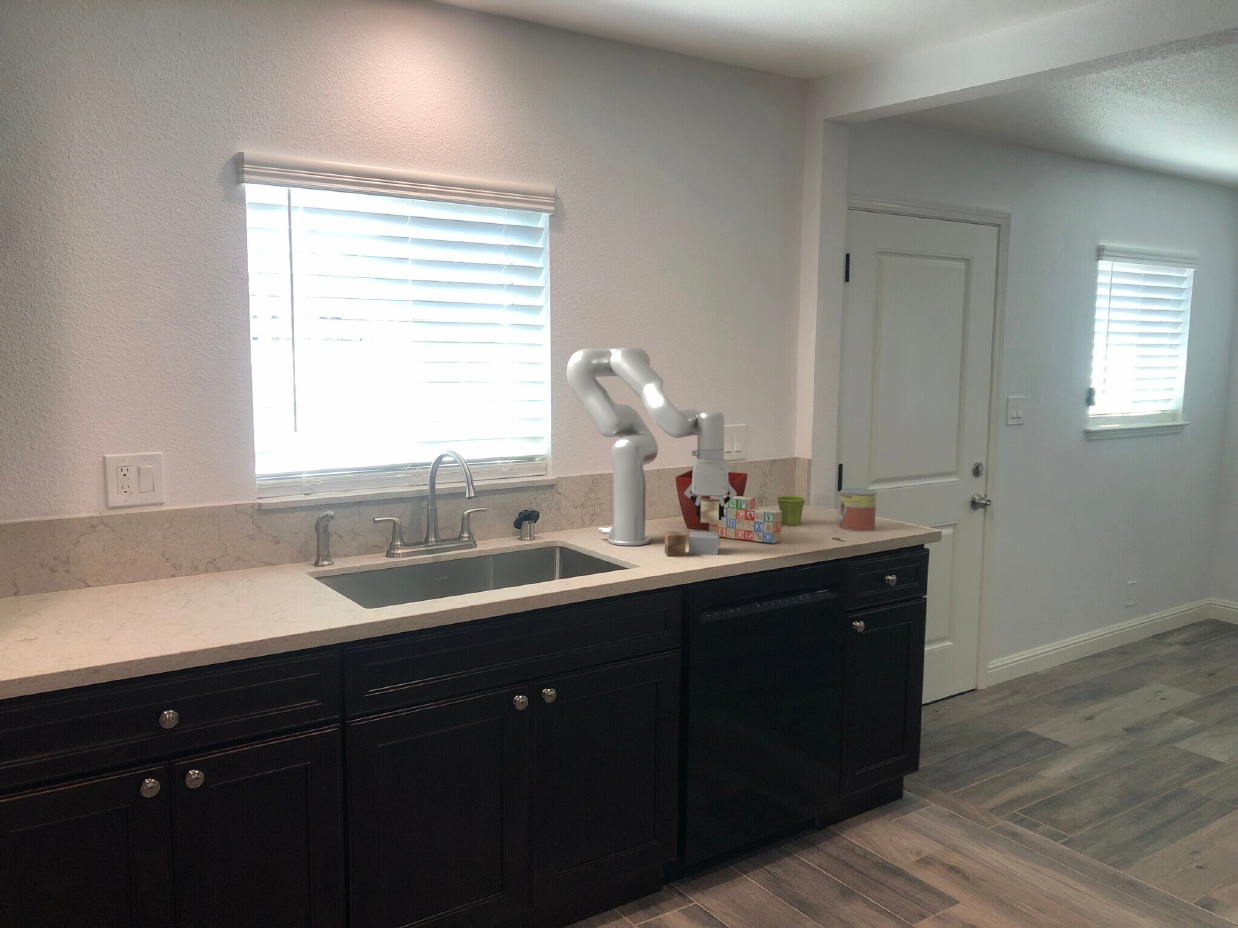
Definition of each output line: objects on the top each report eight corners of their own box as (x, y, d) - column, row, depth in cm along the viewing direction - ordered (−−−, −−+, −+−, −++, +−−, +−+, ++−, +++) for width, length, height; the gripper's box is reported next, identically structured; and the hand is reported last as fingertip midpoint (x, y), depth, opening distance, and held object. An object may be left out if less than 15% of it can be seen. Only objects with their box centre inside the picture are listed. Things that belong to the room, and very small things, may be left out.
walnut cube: (667, 556, 260) (667, 535, 259) (664, 552, 264) (664, 531, 264) (685, 556, 260) (685, 535, 259) (682, 552, 265) (682, 531, 264)
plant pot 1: (731, 534, 290) (733, 480, 288) (673, 529, 297) (674, 476, 295) (746, 523, 308) (748, 473, 305) (691, 519, 314) (692, 469, 312)
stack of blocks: (781, 541, 281) (783, 500, 279) (772, 544, 275) (774, 502, 274) (717, 532, 293) (719, 493, 291) (708, 535, 287) (709, 495, 286)
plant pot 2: (792, 528, 301) (793, 501, 300) (770, 523, 308) (770, 497, 307) (811, 524, 306) (811, 498, 305) (788, 520, 314) (789, 495, 313)
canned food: (834, 524, 307) (836, 488, 306) (868, 524, 308) (870, 488, 306) (844, 531, 296) (845, 494, 295) (879, 531, 297) (881, 494, 295)
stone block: (688, 554, 263) (689, 536, 263) (691, 548, 271) (691, 531, 271) (717, 555, 262) (717, 538, 261) (719, 549, 270) (719, 532, 269)
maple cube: (700, 522, 263) (700, 501, 263) (701, 519, 268) (702, 498, 268) (718, 523, 263) (718, 501, 262) (719, 519, 268) (719, 499, 267)
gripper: (679, 456, 261) (678, 520, 263) (740, 457, 258) (740, 522, 260) (681, 453, 268) (681, 516, 270) (741, 454, 266) (740, 517, 268)
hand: (710, 518), depth 265 cm, fingers closed on maple cube, 5 cm apart
